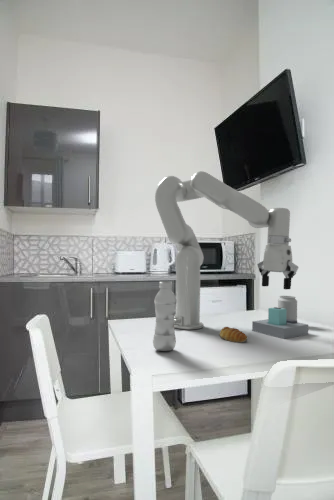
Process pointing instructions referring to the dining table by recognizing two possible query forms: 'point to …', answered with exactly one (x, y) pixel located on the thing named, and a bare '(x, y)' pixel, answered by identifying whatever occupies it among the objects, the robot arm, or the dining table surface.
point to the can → (288, 306)
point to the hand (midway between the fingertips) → (275, 287)
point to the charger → (277, 316)
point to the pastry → (232, 335)
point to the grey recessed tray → (280, 328)
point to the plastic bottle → (165, 317)
